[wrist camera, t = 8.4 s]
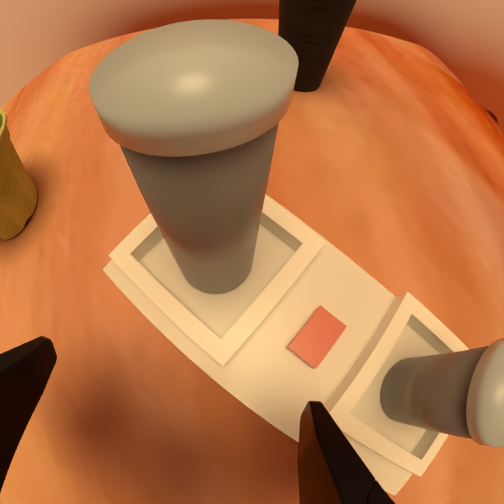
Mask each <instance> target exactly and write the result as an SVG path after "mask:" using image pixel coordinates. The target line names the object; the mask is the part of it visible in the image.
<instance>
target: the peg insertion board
mask: <svg viewBox="0 0 504 504" xmlns="http://www.w3.org/2000/svg"><path fill="white" fill-rule="evenodd" d="M109 256H110V258H111V259H112V260H111V261H110V262H109V263H108V264H107V265H106V267H105V268H104V269H103V271H104V272H105V273H106V274H107V276H108V277H109V278H110V279H111V280H112V281H113V282H114V284H115V285H116V286H117V287H118V288H119V289H120V290H121V291H122V292H123V294H124V295H125V296H126V297H127V298H128V299H129V300H130V301H131V302H132V303H133V304H134V305H135V306H136V307H137V308H138V310H139V311H140V312H141V313H142V314H143V315H144V316H145V317H146V318H147V319H148V320H149V321H150V322H151V323H152V324H153V325H154V326H155V327H156V328H157V329H158V330H159V331H160V332H161V333H162V334H163V335H164V336H165V337H166V338H168V339H169V340H170V341H171V342H172V343H173V344H174V345H175V346H176V347H177V348H178V349H179V350H180V351H181V352H182V353H184V354H185V355H186V356H187V357H188V358H189V359H190V360H191V361H192V362H194V363H195V364H196V365H197V366H198V367H199V368H200V369H202V370H203V371H204V372H205V373H206V374H207V375H209V376H210V377H211V378H212V379H213V380H214V381H216V382H217V383H218V384H219V385H221V386H222V387H223V388H224V389H225V390H227V391H228V392H229V393H230V394H232V395H233V396H234V397H235V398H237V399H238V400H239V401H241V402H242V403H243V404H244V405H246V406H247V407H248V408H250V409H251V410H252V411H254V412H255V413H256V414H258V415H259V416H260V417H262V418H263V419H265V420H266V421H267V422H269V423H270V424H272V425H273V426H274V427H276V428H277V429H279V430H280V431H282V432H283V433H285V434H286V435H288V436H289V437H291V438H292V439H294V440H295V441H297V442H298V443H299V428H300V417H301V414H302V412H303V410H304V408H305V406H306V404H307V402H308V401H320V402H322V403H323V405H324V406H325V408H326V409H327V411H328V412H329V413H330V415H331V416H332V418H333V419H334V421H335V422H336V424H337V425H338V426H339V428H340V429H341V431H342V432H343V434H344V435H345V437H346V438H347V439H348V441H349V442H350V444H351V445H352V446H353V448H354V449H355V451H356V452H357V454H358V455H359V456H360V458H361V459H362V461H363V462H364V463H365V465H366V466H367V468H368V469H369V470H370V472H371V473H372V475H373V476H374V477H375V480H377V481H378V483H379V484H380V485H381V487H382V488H383V489H384V491H386V492H388V493H390V494H392V495H396V494H397V493H398V492H399V490H400V489H401V488H402V487H403V485H404V484H405V483H406V482H407V480H408V479H409V478H410V476H411V475H412V474H415V475H418V476H420V477H421V476H422V474H423V473H424V472H425V470H426V469H427V467H428V466H429V464H430V463H431V462H432V460H433V459H434V457H435V456H436V454H437V453H438V451H439V449H440V448H441V446H442V445H443V443H444V441H445V440H446V438H447V436H448V435H454V436H459V437H465V438H471V439H473V440H474V441H475V442H476V443H478V444H480V445H486V446H492V447H503V446H504V338H503V339H499V340H496V341H495V342H493V343H492V344H491V345H490V346H486V347H481V348H476V349H470V350H469V349H468V348H467V347H466V346H465V345H464V344H463V343H462V342H461V341H460V340H459V339H458V338H457V337H456V336H455V335H454V334H453V333H452V332H451V331H450V330H449V329H448V328H447V327H446V326H445V325H444V324H443V323H442V322H441V321H440V320H438V319H437V318H436V317H435V316H434V315H433V314H432V313H431V312H430V311H429V310H428V309H427V308H426V307H424V306H423V305H422V304H421V303H420V302H419V301H418V300H417V299H416V298H415V297H413V296H412V295H411V294H410V293H409V292H408V291H407V292H405V293H403V294H401V295H399V296H397V297H395V296H394V295H393V294H392V293H391V292H389V291H388V290H387V289H386V288H385V287H384V286H382V285H381V284H380V283H379V282H378V281H376V280H375V279H374V278H373V277H372V276H370V275H369V274H368V273H367V272H366V271H364V270H363V269H362V268H361V267H360V266H358V265H357V264H356V263H355V262H353V261H352V260H351V259H350V258H348V257H347V256H346V255H345V254H344V253H342V252H341V251H340V250H339V249H337V248H336V247H335V246H333V245H332V244H331V243H330V242H328V241H327V240H326V239H325V238H323V237H322V236H321V235H319V234H318V233H317V232H316V231H314V230H313V229H312V228H310V227H309V226H308V225H307V224H305V223H304V222H303V221H301V220H300V219H299V218H297V217H296V216H295V215H293V214H292V213H291V212H289V211H288V210H287V209H285V208H284V207H283V206H281V205H280V204H279V203H277V202H276V201H275V200H273V199H272V198H270V197H269V196H268V195H266V194H265V199H264V204H263V209H262V215H261V220H260V225H259V231H258V236H257V242H256V247H255V252H254V258H253V263H252V268H251V271H250V273H249V275H248V277H247V278H246V280H245V281H244V282H243V283H242V284H241V285H240V286H239V287H237V288H236V289H234V290H232V291H230V292H227V293H223V294H208V293H204V292H201V291H199V290H197V289H195V288H194V287H193V286H191V285H190V284H189V283H188V281H187V280H186V279H185V277H184V276H183V274H182V272H181V270H180V268H179V266H178V265H177V263H176V261H175V259H174V257H173V255H172V253H171V251H170V249H169V247H168V246H167V244H166V242H165V240H164V238H163V236H162V234H161V232H160V230H159V228H158V226H157V224H156V222H155V220H154V218H153V216H152V214H151V213H150V214H149V215H148V216H147V217H146V218H145V219H144V220H143V221H142V222H141V223H140V224H139V225H138V226H137V227H136V228H135V229H134V230H133V231H132V232H131V233H130V234H129V235H128V236H127V237H126V238H125V239H124V240H123V241H122V242H121V243H120V244H119V245H118V246H117V247H116V248H115V249H114V250H113V251H112V252H111V253H110V254H109Z"/></svg>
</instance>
